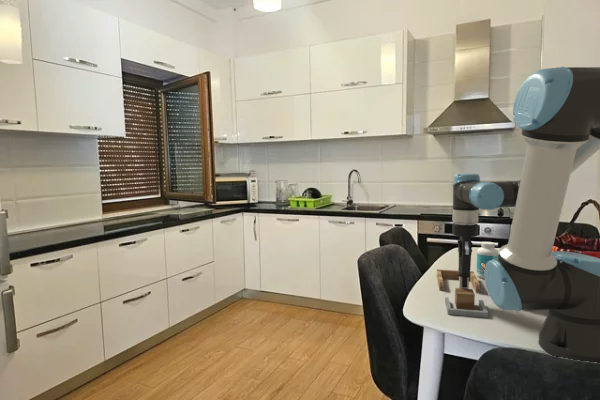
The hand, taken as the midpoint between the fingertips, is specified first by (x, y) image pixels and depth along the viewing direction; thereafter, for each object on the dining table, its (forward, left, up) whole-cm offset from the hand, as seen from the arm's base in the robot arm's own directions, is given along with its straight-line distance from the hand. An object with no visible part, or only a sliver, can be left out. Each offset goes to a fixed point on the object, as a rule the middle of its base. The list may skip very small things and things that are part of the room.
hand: (463, 295), depth 124 cm
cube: (-3, 0, -2) cm, 4 cm away
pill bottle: (+31, -12, -3) cm, 33 cm away
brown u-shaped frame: (+19, 0, -2) cm, 19 cm away
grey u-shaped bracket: (-5, 0, -2) cm, 6 cm away
